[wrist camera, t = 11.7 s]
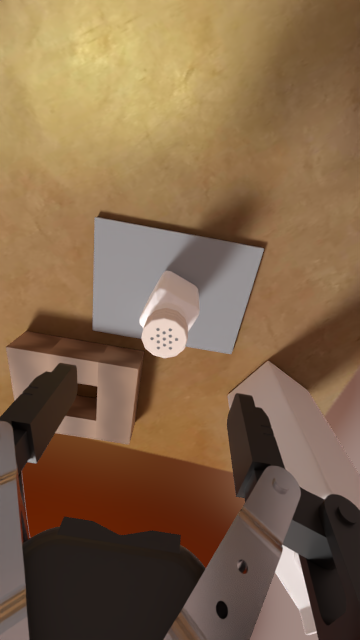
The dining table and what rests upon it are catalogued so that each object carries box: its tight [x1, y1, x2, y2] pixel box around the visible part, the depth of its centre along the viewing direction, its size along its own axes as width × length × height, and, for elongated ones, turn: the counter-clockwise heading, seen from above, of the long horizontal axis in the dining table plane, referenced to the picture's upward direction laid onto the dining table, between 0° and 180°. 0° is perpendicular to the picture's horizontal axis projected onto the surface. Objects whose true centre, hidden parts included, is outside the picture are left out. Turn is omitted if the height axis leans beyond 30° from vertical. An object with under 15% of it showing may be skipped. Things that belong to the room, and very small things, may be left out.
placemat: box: [93, 217, 264, 354], centre depth 26 cm, size 16×12×1 cm
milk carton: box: [228, 361, 360, 635], centre depth 23 cm, size 7×7×19 cm
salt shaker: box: [139, 271, 200, 358], centre depth 21 cm, size 4×4×10 cm
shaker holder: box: [6, 331, 144, 444], centre depth 30 cm, size 14×12×4 cm
